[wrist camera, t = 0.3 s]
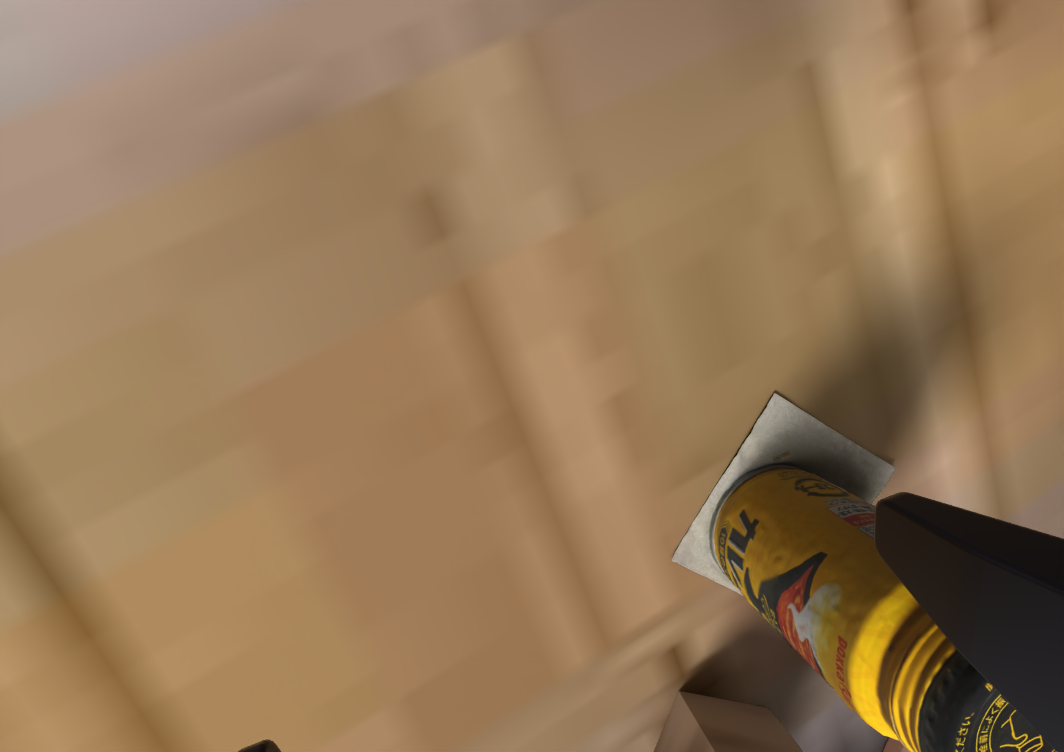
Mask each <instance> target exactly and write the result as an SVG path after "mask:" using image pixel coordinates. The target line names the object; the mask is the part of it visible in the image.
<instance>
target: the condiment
mask: <svg viewBox="0 0 1064 752" xmlns="http://www.w3.org/2000/svg"><path fill="white" fill-rule="evenodd" d="M785 452H789V455H787V456H786V457H782V454H783V453H785ZM778 456H779V457H780V459H779V460H778V461H775V460H774V458H775V457H778ZM895 469H896V468H895V467H893V466H892V465H890V464H888V463H887V462H885V461H883V460H882V459H880V458H878V457H877V456H875V455H874V454H872V453H870V452H869V451H867V450H865V449H864V448H862V447H861V446H859V445H857V444H856V443H854V442H853V441H851V440H849V439H847V438H846V437H844V436H843V435H841V434H839V433H838V432H836V431H835V430H833V429H831V428H830V427H828V426H826V425H824V424H823V423H822V422H820V421H819V420H817V419H816V418H814V417H812V416H811V415H809V414H808V413H806V412H804V411H803V410H801V409H799V408H798V407H796V406H794V405H793V404H792V403H790V402H788V401H787V400H785V399H784V398H782V397H780V396H779V395H777V394H776V393H774V395H773V397H772V398H771V400H770V401H769V403H768V405H767V407H766V409H765V410H764V412H763V414H762V415H761V416H760V418H759V419H758V420H757V422H756V424H755V425H754V428H753V430H752V432H751V434H750V435H749V436H748V438H747V439H746V441H745V442H744V444H743V445H742V447H741V448H740V450H739V452H738V454H737V456H736V457H735V458H734V459H733V461H732V462H731V464H730V466H729V467H728V469H727V470H726V472H725V473H724V475H723V476H722V477H721V479H720V480H719V482H718V483H717V485H716V486H715V488H714V489H713V491H712V493H711V495H710V496H709V498H708V500H707V501H706V503H705V504H704V506H703V507H702V509H701V511H700V513H699V514H698V516H697V517H696V518H695V520H694V522H693V523H692V525H691V527H690V529H689V531H688V532H687V534H686V535H685V536H684V538H683V539H682V541H681V543H680V544H679V547H678V548H677V550H676V552H675V554H674V556H673V559H672V561H673V562H676V563H678V564H680V565H682V566H684V567H686V568H688V569H690V570H692V571H694V572H696V573H698V574H700V575H702V576H705V577H707V578H709V579H711V580H713V581H715V582H717V583H719V584H721V585H723V586H725V587H727V588H729V589H731V590H733V591H735V592H737V593H739V594H741V595H743V596H745V597H746V598H747V600H748V601H749V603H750V604H751V605H752V606H753V607H754V608H755V609H756V610H757V611H758V612H759V613H760V614H761V615H762V616H763V617H764V618H766V620H767V621H768V622H769V623H770V624H771V625H772V626H773V627H774V628H775V629H776V630H777V632H778V633H779V634H780V635H781V636H782V637H783V638H784V639H785V640H786V641H787V642H788V644H789V645H790V646H791V647H793V648H794V649H795V650H796V651H797V652H798V653H799V654H800V655H801V656H802V657H803V658H805V659H806V661H807V662H808V663H809V664H810V665H811V666H812V667H813V668H814V669H815V670H816V671H817V672H818V673H819V674H820V675H821V676H822V677H823V678H824V680H825V681H826V682H827V683H828V684H829V685H830V686H831V687H832V688H833V689H834V690H835V691H836V692H837V693H838V695H839V696H840V697H841V699H842V700H843V701H844V702H845V703H846V705H847V706H848V707H849V708H850V709H851V710H854V711H855V712H856V713H857V714H858V715H859V716H860V717H861V718H862V719H863V720H864V721H865V722H866V723H867V724H868V725H870V726H871V727H873V728H874V729H875V730H877V731H878V732H879V733H881V734H882V735H884V736H888V737H890V738H893V739H896V740H899V741H900V742H901V743H902V745H903V746H904V747H905V748H907V749H908V750H909V751H910V752H1056V751H1055V750H1054V749H1053V748H1052V747H1051V746H1050V745H1049V744H1048V743H1047V741H1046V740H1045V739H1044V738H1043V737H1042V736H1041V735H1040V734H1039V733H1038V732H1037V731H1036V730H1035V729H1034V728H1033V727H1032V726H1031V725H1030V724H1029V723H1028V722H1027V721H1026V720H1025V719H1024V718H1023V717H1022V716H1021V715H1020V714H1019V713H1018V712H1017V711H1016V710H1015V709H1014V708H1013V707H1012V706H1011V705H1010V704H1009V703H1008V702H1007V701H1006V700H1005V698H1004V697H1003V696H1002V695H1001V694H1000V693H999V692H998V691H997V690H996V689H995V688H994V687H993V686H992V685H991V684H990V683H989V682H988V681H987V680H986V679H985V678H984V677H983V676H982V675H981V674H980V673H979V672H978V671H977V670H976V669H975V668H974V667H973V666H972V665H971V664H970V663H969V662H968V661H967V659H966V658H965V657H964V656H963V655H962V654H961V653H960V652H959V651H958V650H957V649H956V648H955V647H954V646H953V644H952V643H951V642H950V641H949V640H948V639H947V637H946V636H945V635H944V634H943V633H942V632H941V630H940V629H939V628H938V627H937V625H936V624H935V623H934V622H933V621H932V619H931V618H930V617H929V616H928V614H927V613H926V612H925V611H924V610H923V608H922V607H921V606H920V605H919V603H918V602H917V601H916V600H915V599H914V597H913V596H912V595H911V594H910V592H909V591H908V590H907V589H906V588H905V586H904V585H903V584H902V583H901V581H900V580H899V579H898V578H897V576H896V575H895V574H894V573H893V572H892V570H891V569H890V568H889V567H888V565H887V564H886V563H885V562H884V561H883V559H882V558H881V557H880V555H879V553H878V552H877V549H876V547H875V543H874V526H875V506H873V505H871V503H872V502H873V500H874V499H875V498H876V496H877V495H878V494H879V493H880V492H881V490H882V489H883V488H884V487H885V485H886V483H887V481H888V479H889V478H890V477H891V475H892V474H893V472H894V470H895Z"/></svg>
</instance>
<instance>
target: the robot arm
mask: <svg viewBox="0 0 1064 752" xmlns="http://www.w3.org/2000/svg"><path fill="white" fill-rule="evenodd" d="M874 543H875V547H876V549H877V552H878V553H879V555H880V557H881V558H882V559H883V561H884V562H885V563H886V564H887V565H888V567H889V568H890V569H891V570H892V572H893V573H894V574H895V575H896V576H897V578H898V579H899V580H900V581H901V583H902V584H903V585H904V586H905V588H906V589H907V590H908V591H909V592H910V594H911V595H912V596H913V597H914V599H915V600H916V601H917V602H918V603H919V605H920V606H921V607H922V608H923V610H924V611H925V612H926V613H927V614H928V616H929V617H930V618H931V619H932V621H933V622H934V623H935V624H936V625H937V627H938V628H939V629H940V630H941V632H942V633H943V634H944V635H945V636H946V637H947V639H948V640H949V641H950V642H951V643H952V644H953V646H954V647H955V648H956V649H957V650H958V651H959V652H960V653H961V654H962V655H963V656H964V657H965V658H966V659H967V661H968V662H969V663H970V664H971V665H972V666H973V667H974V668H975V669H976V670H977V671H978V672H979V673H980V674H981V675H982V676H983V677H984V678H985V679H986V680H987V681H988V682H989V683H990V684H991V685H992V686H993V687H994V688H995V689H996V690H997V691H998V692H999V693H1000V694H1001V695H1002V696H1003V697H1004V698H1005V700H1006V701H1007V702H1008V703H1009V704H1010V705H1011V706H1012V707H1013V708H1014V709H1015V710H1016V711H1017V712H1018V713H1019V714H1020V715H1021V716H1022V717H1023V718H1024V719H1025V720H1026V721H1027V722H1028V723H1029V724H1030V725H1031V726H1032V727H1033V728H1034V729H1035V730H1036V731H1037V732H1038V733H1039V734H1040V735H1041V736H1042V737H1043V738H1044V739H1045V740H1046V741H1047V743H1048V744H1049V745H1050V746H1051V747H1052V748H1053V749H1054V750H1055V751H1056V752H1064V539H1062V538H1059V537H1055V536H1052V535H1049V534H1045V533H1042V532H1039V531H1035V530H1032V529H1029V528H1025V527H1022V526H1019V525H1015V524H1012V523H1009V522H1005V521H1002V520H999V519H995V518H992V517H989V516H985V515H982V514H978V513H975V512H972V511H968V510H965V509H962V508H958V507H955V506H952V505H948V504H945V503H942V502H938V501H935V500H932V499H928V498H925V497H922V496H918V495H915V494H911V493H907V492H900V493H896V494H894V495H891V496H889V497H886V498H884V499H881V500H880V501H878V503H877V504H876V507H875V526H874ZM238 752H281V751H280V749H279V748H278V746H277V745H276V744H275V743H274V742H273V741H271V740H263V741H261V742H258V743H256V744H253V745H250V746H248V747H245V748H243V749H241V750H239V751H238Z"/></svg>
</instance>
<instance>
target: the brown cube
mask: <svg viewBox="0 0 1064 752" xmlns="http://www.w3.org/2000/svg"><path fill="white" fill-rule="evenodd" d="M654 752H803V751H802V750H801V748H800V747H799V746H798V745H797V743H796V742H795V741H794V739H793V738H792V737H791V736H790V734H789V733H788V732H787V730H786V729H785V728H784V727H783V725H782V724H781V723H780V721H779V720H778V719H777V718H776V716H775V715H774V714H773V712H772V711H771V710H770V709H769V708H767V707H762V706H757V705H751V704H746V703H741V702H735V701H730V700H725V699H719V698H714V697H709V696H703V695H698V694H693V693H687V692H682V691H678V693H677V696H676V698H675V701H674V703H673V706H672V708H671V711H670V713H669V716H668V718H667V720H666V723H665V725H664V728H663V730H662V733H661V735H660V738H659V740H658V743H657V745H656V748H655V750H654Z"/></svg>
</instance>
